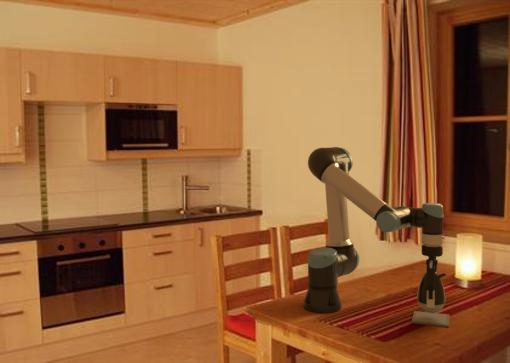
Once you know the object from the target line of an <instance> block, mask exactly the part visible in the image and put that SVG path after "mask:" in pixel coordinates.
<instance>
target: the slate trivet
mask: <svg viewBox="0 0 510 363" xmlns="http://www.w3.org/2000/svg"><path fill="white" fill-rule="evenodd" d="M411 324H415V325H416V324H417V325H425V326H434V327H444V328H449V326H450V314H449V313H448V314H447V313H438V312H427V311H418V310H414V311H413V315H412V318H411Z"/></svg>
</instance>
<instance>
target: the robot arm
mask: <svg viewBox="0 0 510 363" xmlns="http://www.w3.org/2000/svg"><path fill="white" fill-rule="evenodd" d="M353 164H354V161H353V156H352V154H351V153H350V152H349V151H348V150H347V149H346V148H345V147H339V146H332V147H318V148H316V149H314V150H313V151H312V152H311V153H310V154H309V156H308V159H307V166H308V170H309V172H310V173H311V174H312V175H313V176H314V177H315V178H316V179H317V180H319V182H321V183H323V184H324V185H325V186H324V188H325V199H326V200H325V201H326V213H327V214H326V216H327V229H328V241H327V242H326V243H325V247H318V248H314V249H312V250H310V252H309V253H308V258H307V291H306V293H305V297H304V300H303V308H304V309H305V310H306V311H310V312H313V313H319V314H321V313H322V314H323V313H326V314H327V313H329V314H330V313H336V312H338V311H341V310H342V301H341V296H340V293H339V291H338V278H340V277H343V276H346V275H350V274H351V273H352V272H355V271H356V270H357V268H358V266H359V264H360V255H359V251H358V250H356V248H355V246H354V242H353V241H352V240H351V239H350V230H349V226H350V225H349V214H348V213H349V212H348V201H349V202H351V203H352V204H353V205H355V206H356V207H357V208H359V209H360V210H361V211H363V212H364V213H365V214H366V215H368V216H369V217H370V218H372V219H373V220H374V221H375V222H376V226H377V228H378V229H379V230H380V231H381V232H383V233H392V232H396V231H398V230H402V229H404V228H405V229H406V228H418V229H421V244H422V245H421V255H422V256H424V257H427V258H426V260H425V261H426V262H425V265H426V272H427V288H425V290H427V307H430V308H434V306H435V288H434V282H435V273H436V272H437V269H438V262H439V260H438V259H437V258H439V257H442V256H443V254H444V252H443V251H444V250H443V249H444V248H443V247H444V246H443V244H444V242H443V241H444V240H445V236H443V234H444V217H445V215H444V206H443V205H442V204H441V203H437V202H436V203H435V202H426V203H423V204H422V205H421V207H411V206H398V205H397V206H393V207H391V206H390V205H389V204H388V203H387V202H385V201H383V200H382V199H381V198H380V197H378V196H377V195H376V194H374V193H373V192H371V190H369V189H368V188H367V187H365V186H364V185H363V184H361V183H360V182H358V181H357V180H356V179H354V178H353V177H352V176H350V173H349V172H350V171H351V170H352V168H353ZM429 286H432V287H429Z"/></svg>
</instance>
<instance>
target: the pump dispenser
mask: <svg viewBox="0 0 510 363" xmlns="http://www.w3.org/2000/svg"><path fill="white" fill-rule="evenodd" d="M446 276H447V273H446V272H443V273H441V274H438V272H437V271H436V273H435V282H434V288H435V306H434V308H430V307H427V290H425V288H427V271H426V272H425V273H424V274H423V275H422V277H421V279H420V281H419V285H418V289H417V295H416V301H417V303H418V305H419V308H421V309H422V310H423V312H430V313H438V312H441V310H442V309H443V308H444V306H445V303H446V293H445V287H444V284H443V281H442V278H444V277H446ZM429 287H432V286H429Z"/></svg>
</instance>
